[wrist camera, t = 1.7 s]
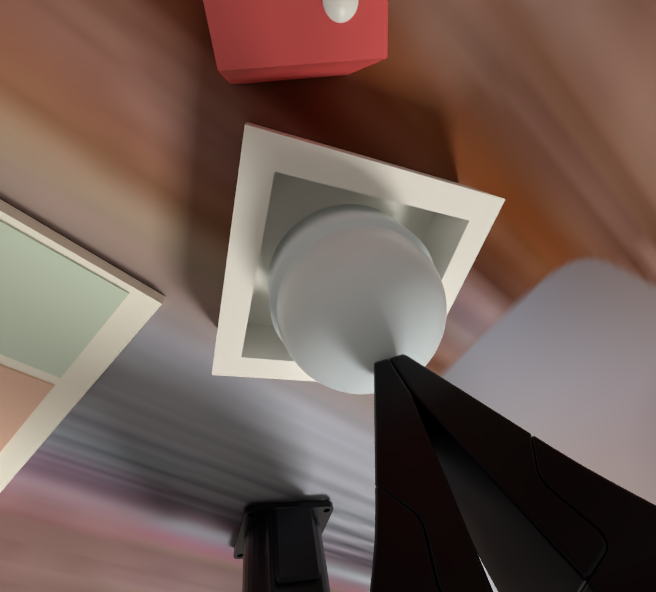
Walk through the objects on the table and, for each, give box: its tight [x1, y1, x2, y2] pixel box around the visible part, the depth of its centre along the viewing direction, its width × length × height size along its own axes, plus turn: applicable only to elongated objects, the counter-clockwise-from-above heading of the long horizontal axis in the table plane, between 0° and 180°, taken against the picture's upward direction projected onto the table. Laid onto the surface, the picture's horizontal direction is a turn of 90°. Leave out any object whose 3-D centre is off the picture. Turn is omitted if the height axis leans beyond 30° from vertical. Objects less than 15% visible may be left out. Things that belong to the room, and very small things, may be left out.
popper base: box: [212, 122, 505, 381], centre depth 13 cm, size 9×9×3 cm
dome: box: [268, 204, 447, 394], centre depth 11 cm, size 6×6×6 cm
